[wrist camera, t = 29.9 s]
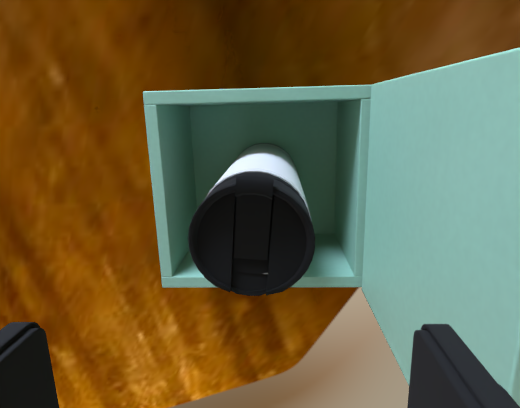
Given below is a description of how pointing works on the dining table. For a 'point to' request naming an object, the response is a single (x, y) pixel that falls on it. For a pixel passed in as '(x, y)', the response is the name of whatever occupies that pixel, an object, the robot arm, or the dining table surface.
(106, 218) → the dining table surface
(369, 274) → the box lid
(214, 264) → the travel mug
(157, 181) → the mint green cubby
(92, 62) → the dining table surface
